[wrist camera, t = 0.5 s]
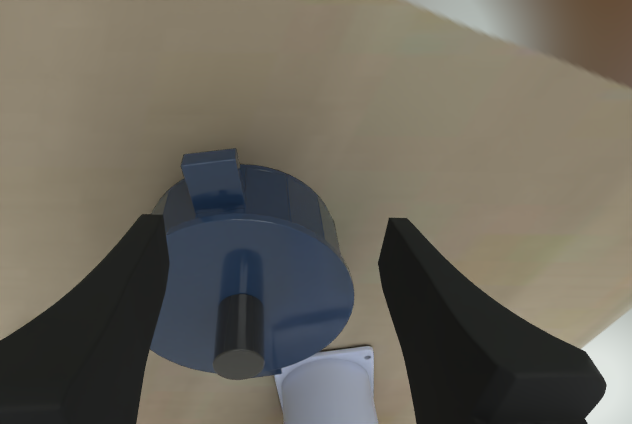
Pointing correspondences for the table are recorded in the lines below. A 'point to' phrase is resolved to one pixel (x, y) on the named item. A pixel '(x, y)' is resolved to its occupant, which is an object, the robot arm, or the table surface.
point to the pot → (242, 196)
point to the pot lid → (249, 295)
